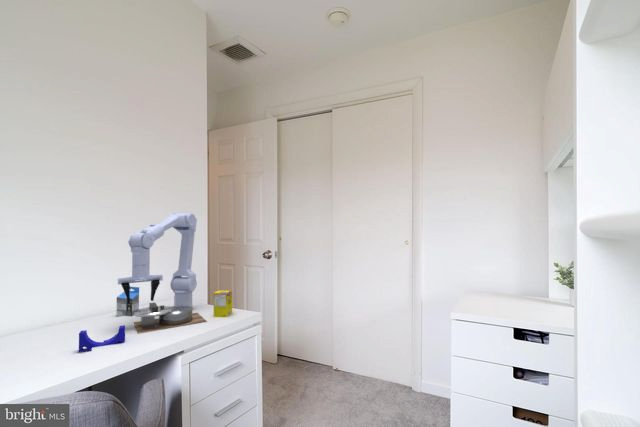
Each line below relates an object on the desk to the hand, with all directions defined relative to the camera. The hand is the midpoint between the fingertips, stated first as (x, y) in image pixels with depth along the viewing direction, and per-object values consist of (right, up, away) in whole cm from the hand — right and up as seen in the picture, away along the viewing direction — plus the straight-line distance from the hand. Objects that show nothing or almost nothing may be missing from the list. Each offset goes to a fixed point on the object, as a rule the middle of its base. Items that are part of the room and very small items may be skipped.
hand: (140, 301), depth 122 cm
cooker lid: (+3, -5, +3) cm, 7 cm away
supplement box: (+26, -11, +16) cm, 32 cm away
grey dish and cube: (+8, -10, +6) cm, 13 cm away
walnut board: (+8, -11, +6) cm, 15 cm away
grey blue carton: (-15, -11, +18) cm, 26 cm away
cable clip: (-3, -10, -17) cm, 20 cm away
